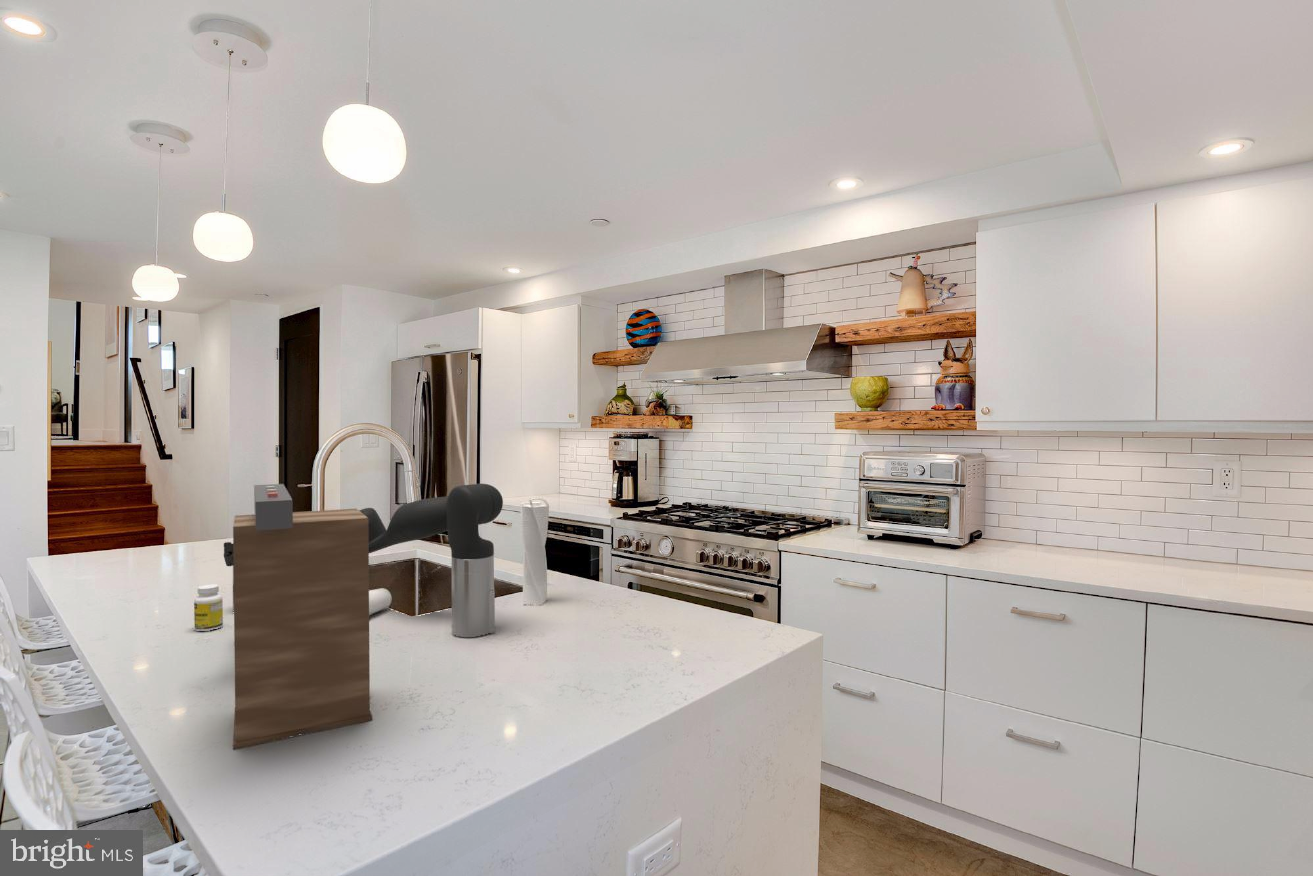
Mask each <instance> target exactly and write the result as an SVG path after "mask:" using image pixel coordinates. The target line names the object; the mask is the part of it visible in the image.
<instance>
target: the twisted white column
mask: <svg viewBox="0 0 1313 876" xmlns="http://www.w3.org/2000/svg"><path fill="white" fill-rule="evenodd" d="M533 500H540V501H533ZM541 501H543V502H544V503H545V504H546V505H544V504H541ZM549 509H550V505H549V503H548V502H547V500H546V499H544V498H542V497H537V496H536V497H535V496H534V497H531V498H530V499H529V501H524V502H521V503H520V525H521V537H522V545H523V550H524V552H523V553H524V554H523V567H522V606H525V605H524V604H527V605H526V606H542V605H543V606H544V604H545V602H546V601H547V600H548V566H547V564H548V563H547V556H546V555H547V554H546V547H545V546H546V543H547V542H546V541H547V536H548V526H549V511H550V510H549ZM543 603H544V604H543ZM528 604H529V605H528ZM530 604H531V605H530ZM532 604H533V605H532ZM534 604H536V605H534ZM537 604H538V605H537Z"/></svg>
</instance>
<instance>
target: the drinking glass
mask: <svg viewBox="0 0 1313 876" xmlns="http://www.w3.org/2000/svg"><path fill="white" fill-rule="evenodd" d="M391 603H392V595H391V592H390V591H389V590H388V589H386V588H383V587H381V588H376V589H369V616H372V615H373V614H376V613H378V612H380V611H383V610H386V609H388V608H389V607H390V605H391ZM385 608H386V609H385Z"/></svg>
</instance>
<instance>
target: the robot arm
mask: <svg viewBox="0 0 1313 876" xmlns="http://www.w3.org/2000/svg"><path fill="white" fill-rule="evenodd" d="M503 505H504V498H503V496H502V494H501V492H500V491H499V490H498V489H497V488H496V487H495V486H493V485H491V484H488V483H472V484H464V485H463V484H461V485H458V486H455V487H453V488H452V489H451V490H450V491H449V493H448V496H440V497H439V496H437V497H430V498H429V497H428V498H424V499H420V500H414V501H411V502H408V503H404V504H403V505H400V506H399V507H398V508H397V509H396V510H395V512H394V513H393V515H392V517H391V519H390V521H389V523H388V526H387V528H386V526H385V524H384V523H383V522H382V519H381V518H380V517H381V516H380V515H379V514H378V512H377V510H375V508H373V507H365V508H361V509H358V510H359V511H360V512H361V513H363V514H364V515H365V516H366V517H368V530H369V554H372V553H375V552H378V551H381V550H384V549H386V548H387V549H388V548H389V547H392V546H395V545H399V544H403V543H407V542H413V541H418V540H422V539H426V538H429V537H433V536H435V535H438V534H442V533H444V532H447V540H448V544H449V548H450V551H451V634H452V633H453V634H452V635H453V636H455V635H456V636H455V637H459V636H460V638H476V636H478V637H480V636H479V635H483V636H486V635H485V634H487V635H489V634H488V633H491V634H496V633H495V632H496V631H495V630H496V628H495V627H496V626H495V625H496V624H495V623H496V620H495V615H496V612H495V611H496V610H495V609H496V608H495V607H496V606H495V605H496V604H495V603H496V601H495V600H496V599H495V598H496V597H495V596H496V595H495V571H494V570H495V565H494V563H495V560H494V559H495V556H494V555H495V546H494V545H495V544H494V543H493V541H491V540H489V539H484V538H482V537H481V536H480V534H479V526H480V525H483V524H484V525H487V524H489V523H491V522H493V521H494V520H495V519H497V517H499V515H500V513H501V512H502V509H503ZM223 558H224V562H225V565H226V566H227V567H233V565H234V558H233V543H232V542H231V541H226V542H223Z"/></svg>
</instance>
